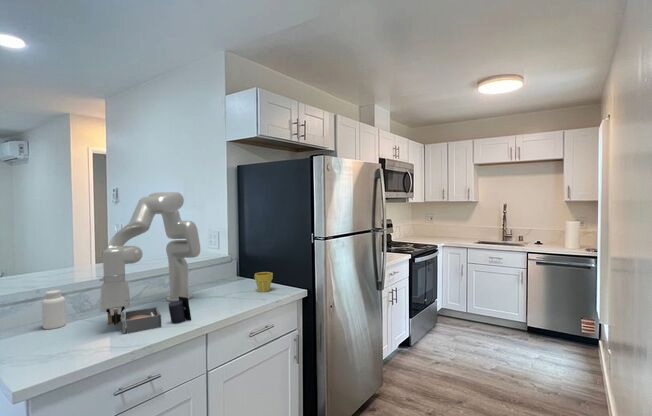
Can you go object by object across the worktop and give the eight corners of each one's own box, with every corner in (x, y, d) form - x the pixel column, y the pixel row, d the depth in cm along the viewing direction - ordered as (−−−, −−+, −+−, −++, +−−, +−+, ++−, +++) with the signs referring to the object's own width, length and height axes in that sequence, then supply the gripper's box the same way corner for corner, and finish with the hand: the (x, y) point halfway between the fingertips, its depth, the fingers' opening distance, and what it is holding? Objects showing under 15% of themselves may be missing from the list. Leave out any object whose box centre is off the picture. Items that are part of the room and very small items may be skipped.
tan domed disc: (127, 321, 150) (127, 317, 150) (147, 318, 154) (147, 313, 154) (128, 326, 143) (128, 322, 143) (149, 323, 147) (149, 318, 147)
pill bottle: (40, 331, 146) (39, 294, 145) (45, 325, 153) (44, 290, 153) (64, 327, 149) (63, 292, 149) (67, 322, 156) (66, 288, 156)
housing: (157, 317, 159) (157, 306, 159) (161, 327, 146) (160, 315, 146) (125, 323, 153) (125, 311, 153) (126, 333, 140) (126, 320, 140)
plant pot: (276, 289, 205) (276, 273, 205) (262, 293, 197) (262, 276, 197) (265, 287, 212) (264, 271, 212) (251, 291, 204) (250, 274, 204)
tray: (154, 317, 158) (154, 307, 158) (157, 327, 146) (157, 315, 146) (122, 323, 152) (121, 312, 152) (122, 333, 139) (122, 321, 139)
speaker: (186, 316, 159) (183, 294, 157) (191, 320, 154) (188, 297, 153) (168, 322, 154) (166, 299, 152) (173, 326, 149) (171, 302, 148)
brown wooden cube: (108, 321, 155) (107, 310, 155) (121, 319, 158) (120, 308, 158) (107, 324, 151) (107, 313, 151) (121, 322, 154) (121, 311, 154)
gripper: (92, 283, 137) (93, 330, 138) (135, 278, 145) (137, 322, 145) (93, 279, 144) (94, 324, 144) (135, 275, 151) (136, 318, 152)
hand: (116, 323), depth 145 cm, fingers closed
